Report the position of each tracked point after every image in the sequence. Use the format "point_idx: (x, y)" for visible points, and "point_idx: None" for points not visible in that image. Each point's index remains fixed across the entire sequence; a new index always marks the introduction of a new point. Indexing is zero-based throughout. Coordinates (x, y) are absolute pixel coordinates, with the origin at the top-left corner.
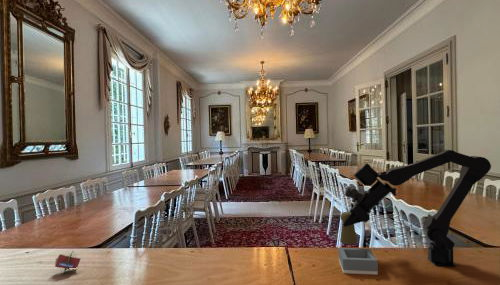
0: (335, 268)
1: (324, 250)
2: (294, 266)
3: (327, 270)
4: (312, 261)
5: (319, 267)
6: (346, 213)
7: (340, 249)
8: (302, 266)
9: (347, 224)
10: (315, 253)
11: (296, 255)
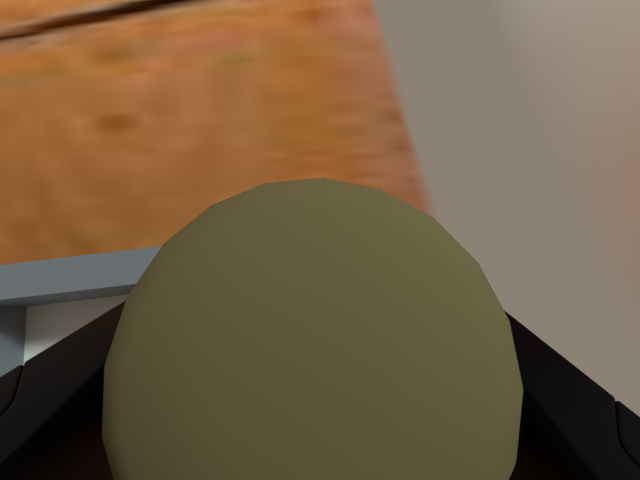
0: (80, 239)
1: (362, 169)
2: (90, 35)
3: (50, 197)
4: (168, 113)
5: (87, 154)
6: (170, 338)
7: (129, 258)
8: (93, 71)
9: None
10: (297, 120)
11: (244, 25)
